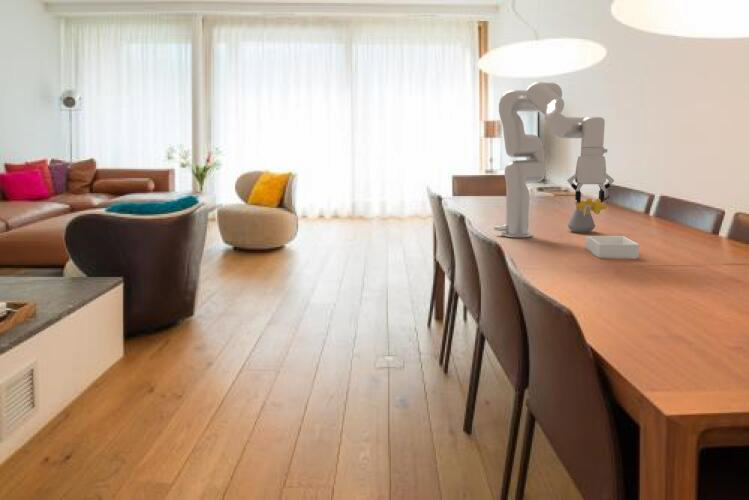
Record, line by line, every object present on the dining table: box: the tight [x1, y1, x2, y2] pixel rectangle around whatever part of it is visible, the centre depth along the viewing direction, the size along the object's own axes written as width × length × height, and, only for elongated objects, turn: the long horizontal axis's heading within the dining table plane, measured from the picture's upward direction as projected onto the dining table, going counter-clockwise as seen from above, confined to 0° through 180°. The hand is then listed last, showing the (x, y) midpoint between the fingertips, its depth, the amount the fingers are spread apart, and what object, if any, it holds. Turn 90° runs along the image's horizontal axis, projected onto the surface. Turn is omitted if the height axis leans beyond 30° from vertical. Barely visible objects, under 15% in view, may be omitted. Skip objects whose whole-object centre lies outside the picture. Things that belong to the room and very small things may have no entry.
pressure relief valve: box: [577, 198, 607, 216], centre depth 217 cm, size 6×12×10 cm
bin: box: [585, 235, 640, 260], centre depth 220 cm, size 13×17×5 cm
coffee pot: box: [567, 195, 613, 234], centre depth 269 cm, size 21×12×15 cm, turn 113°
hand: (589, 201), depth 222 cm, fingers closed on pressure relief valve, 7 cm apart
